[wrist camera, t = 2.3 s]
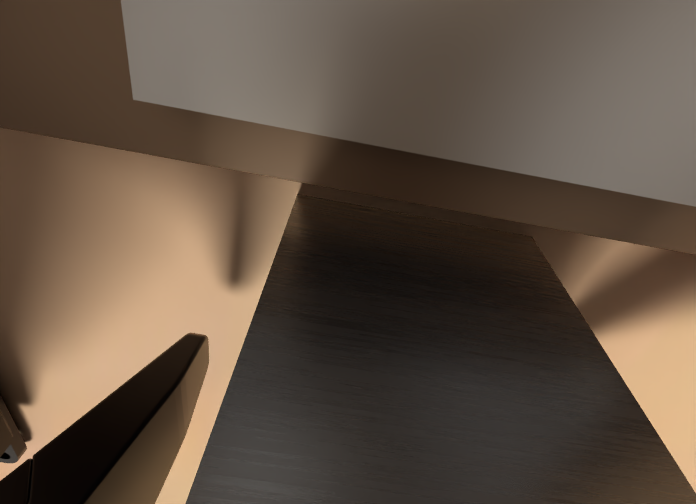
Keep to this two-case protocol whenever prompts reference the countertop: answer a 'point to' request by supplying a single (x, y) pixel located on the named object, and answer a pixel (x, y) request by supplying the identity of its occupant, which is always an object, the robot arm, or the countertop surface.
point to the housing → (424, 377)
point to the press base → (386, 99)
